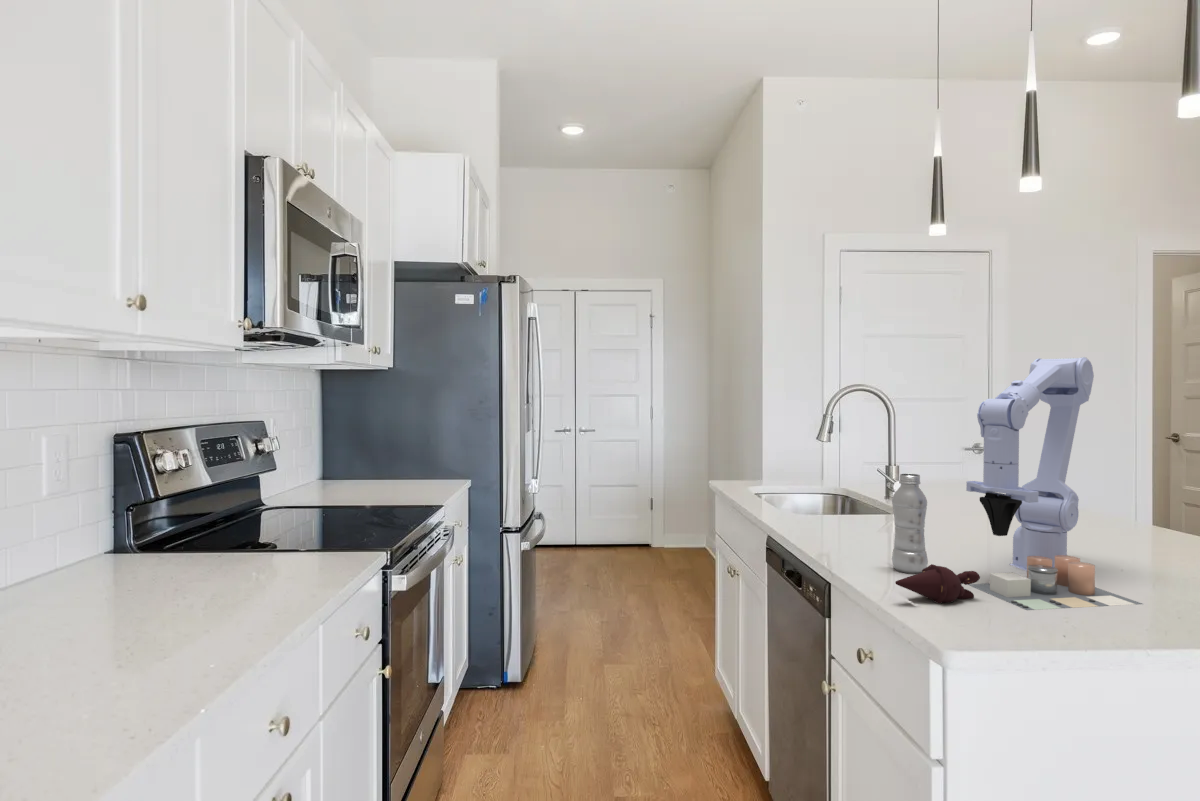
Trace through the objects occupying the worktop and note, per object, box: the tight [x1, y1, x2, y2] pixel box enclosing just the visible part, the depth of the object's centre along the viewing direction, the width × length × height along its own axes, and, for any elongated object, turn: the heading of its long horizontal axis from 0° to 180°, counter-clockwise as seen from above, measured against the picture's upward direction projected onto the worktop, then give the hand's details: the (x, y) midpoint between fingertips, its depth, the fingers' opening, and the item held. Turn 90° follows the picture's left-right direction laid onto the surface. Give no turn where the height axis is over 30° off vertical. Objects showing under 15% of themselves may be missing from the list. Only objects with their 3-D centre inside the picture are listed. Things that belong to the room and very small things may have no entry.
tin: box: [1028, 565, 1058, 595], centre depth 127 cm, size 5×5×4 cm
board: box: [967, 582, 1144, 611], centre depth 126 cm, size 15×22×1 cm
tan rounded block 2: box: [1055, 554, 1081, 587], centre depth 132 cm, size 4×4×5 cm
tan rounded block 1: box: [1026, 556, 1052, 578], centre depth 131 cm, size 4×4×5 cm
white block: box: [989, 572, 1031, 597], centre depth 126 cm, size 4×4×3 cm
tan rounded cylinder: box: [1068, 561, 1096, 595], centre depth 126 cm, size 4×4×5 cm
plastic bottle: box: [891, 473, 929, 575], centre depth 142 cm, size 6×7×20 cm
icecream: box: [895, 563, 981, 604], centre depth 122 cm, size 7×7×15 cm
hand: (1000, 535), depth 131 cm, fingers closed
